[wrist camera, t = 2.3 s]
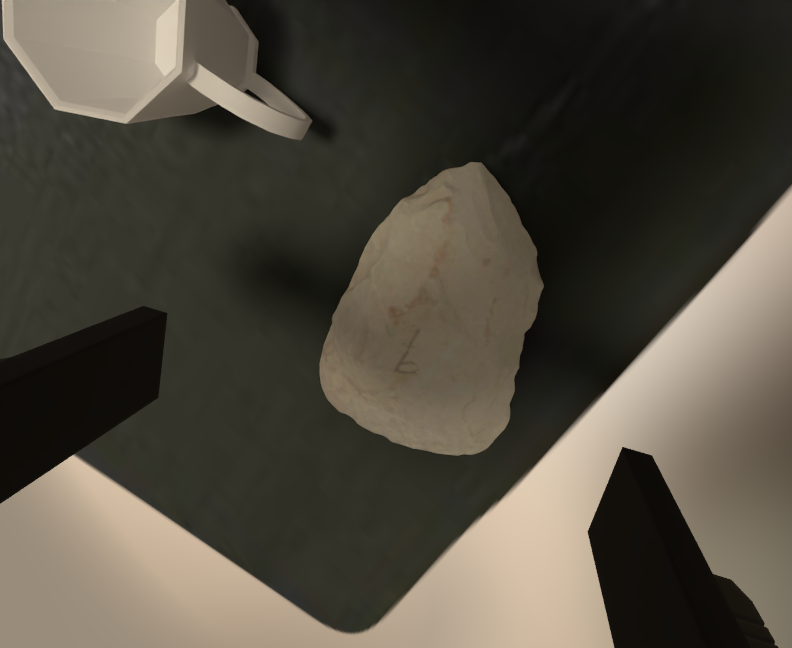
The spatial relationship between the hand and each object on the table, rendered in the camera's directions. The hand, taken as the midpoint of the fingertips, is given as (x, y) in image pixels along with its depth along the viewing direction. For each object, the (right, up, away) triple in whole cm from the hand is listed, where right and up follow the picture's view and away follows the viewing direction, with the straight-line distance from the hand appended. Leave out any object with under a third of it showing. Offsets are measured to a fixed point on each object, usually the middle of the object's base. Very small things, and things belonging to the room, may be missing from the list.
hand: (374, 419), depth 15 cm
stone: (+3, +4, +11) cm, 12 cm away
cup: (-6, +14, +10) cm, 18 cm away
